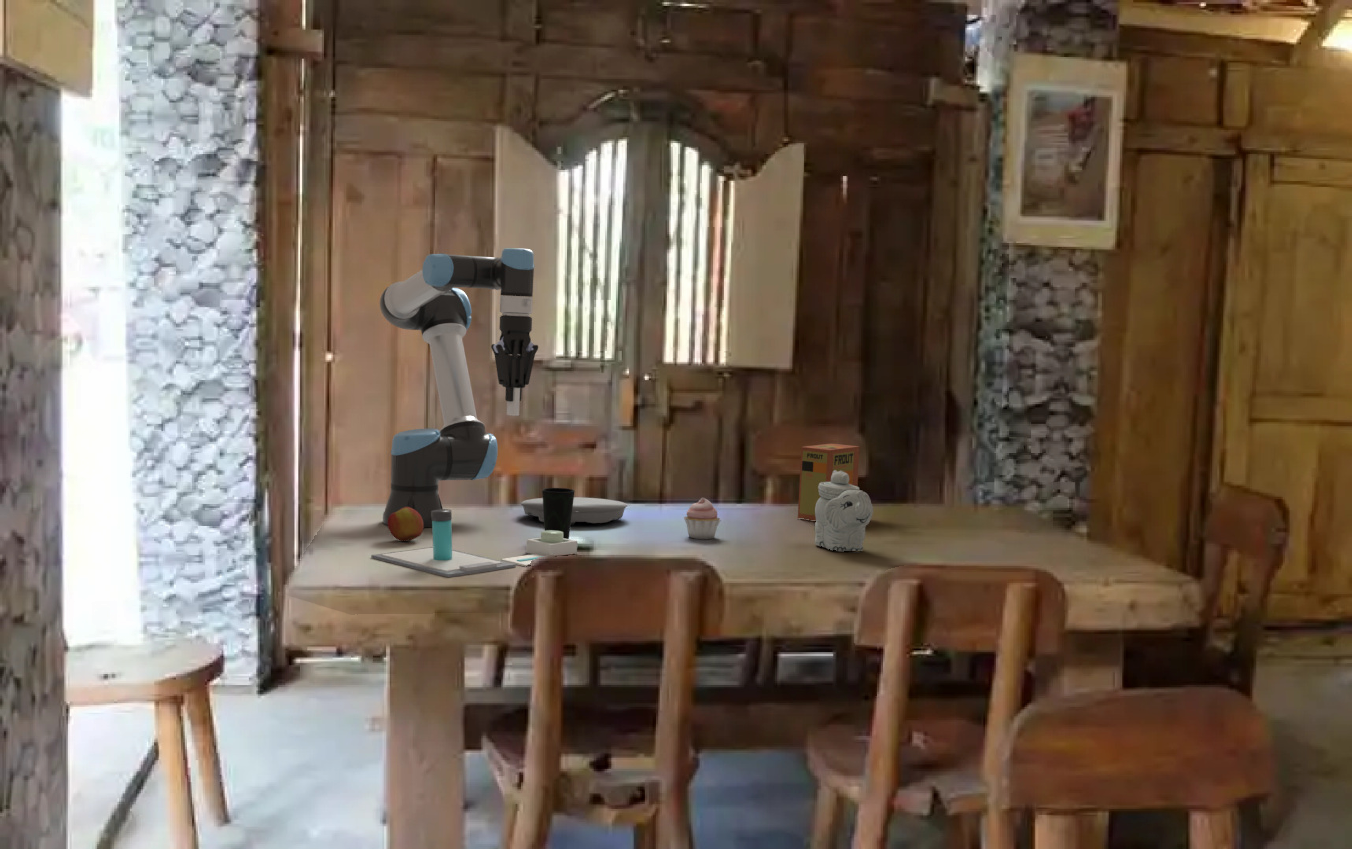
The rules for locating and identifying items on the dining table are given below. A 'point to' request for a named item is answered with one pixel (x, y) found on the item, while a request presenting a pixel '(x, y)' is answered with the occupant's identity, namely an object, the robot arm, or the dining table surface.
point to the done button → (552, 536)
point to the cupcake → (702, 520)
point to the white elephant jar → (841, 514)
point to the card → (522, 559)
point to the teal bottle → (442, 534)
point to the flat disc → (581, 509)
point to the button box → (551, 547)
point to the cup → (558, 509)
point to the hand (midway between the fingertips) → (512, 415)
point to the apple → (405, 524)
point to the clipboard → (443, 562)
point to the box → (823, 472)
